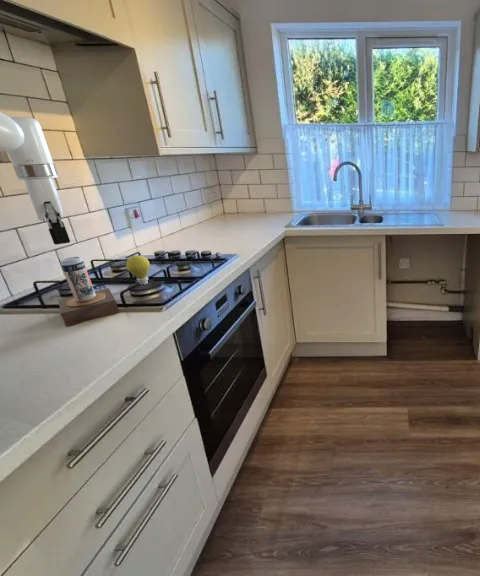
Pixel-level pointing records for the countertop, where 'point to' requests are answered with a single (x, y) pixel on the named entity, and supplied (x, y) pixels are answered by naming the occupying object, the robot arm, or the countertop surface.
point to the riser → (88, 308)
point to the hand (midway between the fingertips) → (61, 240)
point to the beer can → (78, 279)
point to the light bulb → (139, 268)
